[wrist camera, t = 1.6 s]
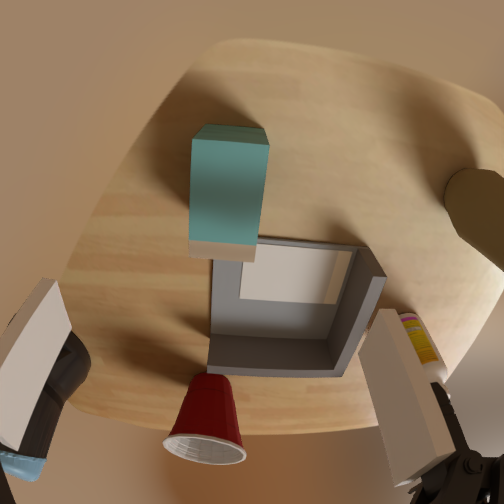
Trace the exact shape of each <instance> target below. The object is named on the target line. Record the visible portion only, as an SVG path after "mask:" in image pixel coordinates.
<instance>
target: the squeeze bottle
mask: <svg viewBox="0 0 504 504" xmlns="http://www.w3.org/2000/svg"><path fill="white" fill-rule="evenodd" d="M444 202H445V208H446V210H447V212H448V214H449V217H450V219H451V221H452V224H453V226H454V228H455V230H456V232H457V234H458V235H459V237H461V238H462V239H463V240H465V241H466V242H467V243H469V244H470V245H471V246H472V247H474V248H475V249H476V250H478V251H479V252H480V253H481V254H483V255H484V256H485V257H486V258H488V259H489V260H490V261H491V262H493V263H494V264H495V265H496V266H497V267H499V268H500V269H501V270H502V271H503V272H504V178H503V177H502V176H500V175H499V174H498V173H496V172H495V171H491V170H485V169H463V170H461V171H458V172H457V173H456V174H455V175H454V176H453V177H452V178H451V179H450V181H449V183H448V184H447V186H446V189H445V195H444Z"/></svg>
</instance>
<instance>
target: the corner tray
mask: <svg viewBox="0 0 504 504" xmlns="http://www.w3.org/2000/svg"><path fill="white" fill-rule="evenodd" d="M386 279H387V276H386V274H385V273H384V271H383V269H382V268H381V266H380V264H379V263H378V261H377V259H376V258H375V256H374V254H373V253H372V251H371V249H370V248H369V247H361V246H351V245H341V244H330V243H320V242H309V241H299V240H288V239H277V238H266V237H258V238H257V246H256V253H255V261H254V263H251V262H239V261H227V260H215V259H214V261H213V282H212V307H211V335H210V344H209V353H208V362H207V373H212V374H224V375H239V376H258V377H294V378H319V377H342V376H343V374H344V372H345V370H346V368H347V366H348V364H349V362H350V360H351V358H352V356H353V354H354V352H355V350H356V348H357V346H358V343H359V341H360V339H361V337H362V335H363V333H364V331H365V328H366V326H367V324H368V322H369V320H370V317H371V315H372V313H373V310H374V308H375V306H376V303H377V301H378V299H379V296H380V294H381V292H382V289H383V287H384V284H385V282H386Z"/></svg>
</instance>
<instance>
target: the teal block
mask: <svg viewBox="0 0 504 504" xmlns="http://www.w3.org/2000/svg"><path fill="white" fill-rule="evenodd" d="M269 146H270V145H269V142H268V139H267V136H266V133H265V130H264V129H261V128H252V127H241V126H229V125H216V124H205V125H204V126H203V127H202V129H201V130H200V131H199V132H198V133H197V134H196V135H195V136H194V138H193V139H192V152H191V174H190V205H189V257H192V258H204V259H215V260H227V261H239V262H251V263H254V261H255V253H256V246H257V238H258V230H259V223H260V215H261V208H262V200H263V192H264V185H265V177H266V170H267V162H268V154H269Z"/></svg>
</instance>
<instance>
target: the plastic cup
mask: <svg viewBox="0 0 504 504" xmlns="http://www.w3.org/2000/svg"><path fill="white" fill-rule="evenodd" d="M163 445H164V447H165V448H166V449H167V450H168V451H170V452H171V453H173V454H175V455H177V456H180V457H182V458H185V459H188V460H191V461H195V462H200V463H206V464H219V465H227V464H234V463H239V462H241V461H243V460H245V458H246V451H245V450H244V449H243V446H242V441H241V435H240V433H239V427H238V421H237V415H236V408H235V402H234V400H233V394H232V388H231V385H230V382H229V380H228V379H227V378H226V377H224V376H223V375H220V374H212V373H207V372H205V373H200V374H198V375H196V376H194V378H193V379H192V381H191V382H190V385H189V388H188V391H187V394H186V396H185V398H184V400H183V403H182V406H181V409H180V411H179V414H178V417H177V420H176V422H175V425H174V426H173V428H172V431H171V432H170V434H169V436H168V437H167V438H165V439H164V441H163Z"/></svg>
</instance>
